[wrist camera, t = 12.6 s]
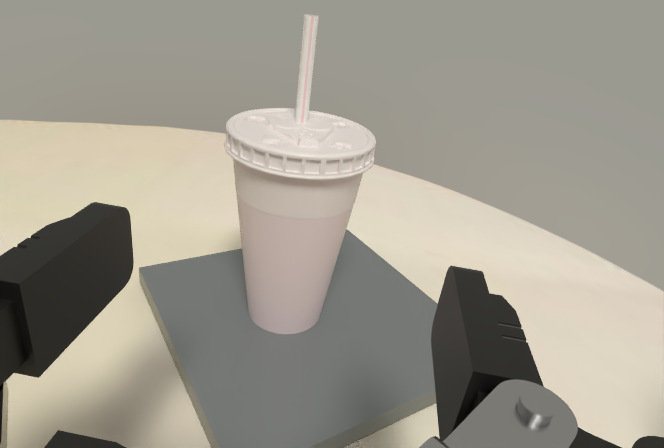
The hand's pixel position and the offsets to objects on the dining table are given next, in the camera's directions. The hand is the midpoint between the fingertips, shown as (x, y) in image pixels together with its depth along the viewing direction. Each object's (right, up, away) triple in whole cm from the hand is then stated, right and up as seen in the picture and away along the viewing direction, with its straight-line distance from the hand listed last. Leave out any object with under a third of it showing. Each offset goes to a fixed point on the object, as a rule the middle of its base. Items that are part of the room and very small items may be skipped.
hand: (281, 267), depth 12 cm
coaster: (0, -4, +13) cm, 14 cm away
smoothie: (-1, -4, +13) cm, 13 cm away
